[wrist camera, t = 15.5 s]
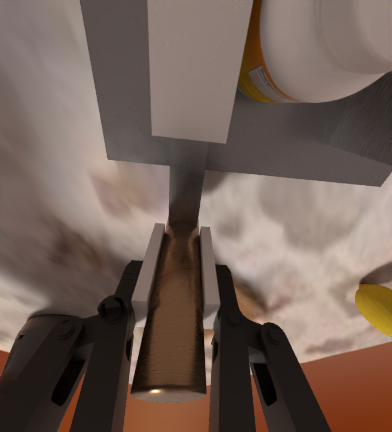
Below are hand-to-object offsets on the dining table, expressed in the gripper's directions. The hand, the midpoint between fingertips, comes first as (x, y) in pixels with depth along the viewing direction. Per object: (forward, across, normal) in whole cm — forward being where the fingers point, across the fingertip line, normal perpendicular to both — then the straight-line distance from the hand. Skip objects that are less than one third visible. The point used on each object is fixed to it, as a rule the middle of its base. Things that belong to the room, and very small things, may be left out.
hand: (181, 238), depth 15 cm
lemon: (+6, +30, -12) cm, 33 cm away
